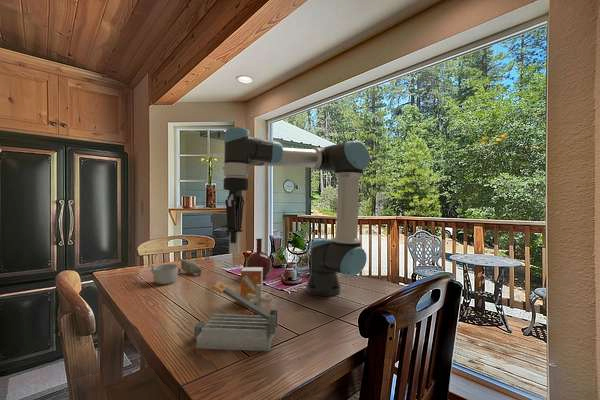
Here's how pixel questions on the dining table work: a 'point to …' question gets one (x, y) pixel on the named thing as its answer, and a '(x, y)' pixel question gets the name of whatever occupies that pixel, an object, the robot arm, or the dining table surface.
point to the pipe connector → (259, 297)
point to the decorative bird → (190, 267)
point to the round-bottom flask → (260, 259)
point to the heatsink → (237, 332)
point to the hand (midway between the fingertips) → (234, 252)
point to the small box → (250, 280)
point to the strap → (239, 299)
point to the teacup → (164, 273)
